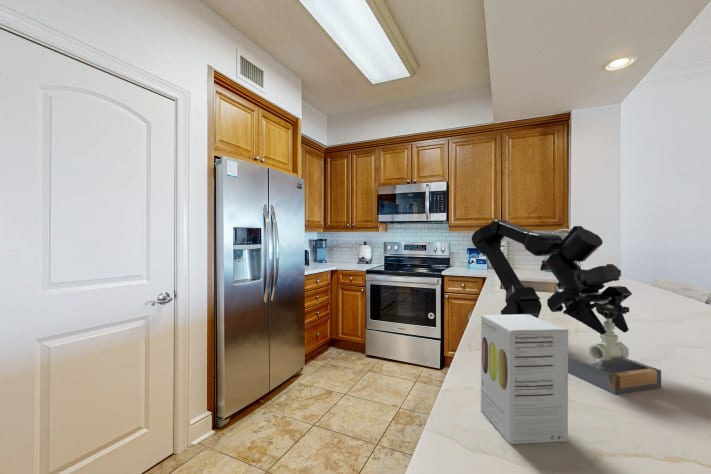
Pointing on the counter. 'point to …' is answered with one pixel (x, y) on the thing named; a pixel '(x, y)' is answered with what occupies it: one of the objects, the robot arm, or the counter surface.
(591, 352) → the valve
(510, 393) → the supplement box
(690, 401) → the counter surface
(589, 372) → the grey wooden tray
